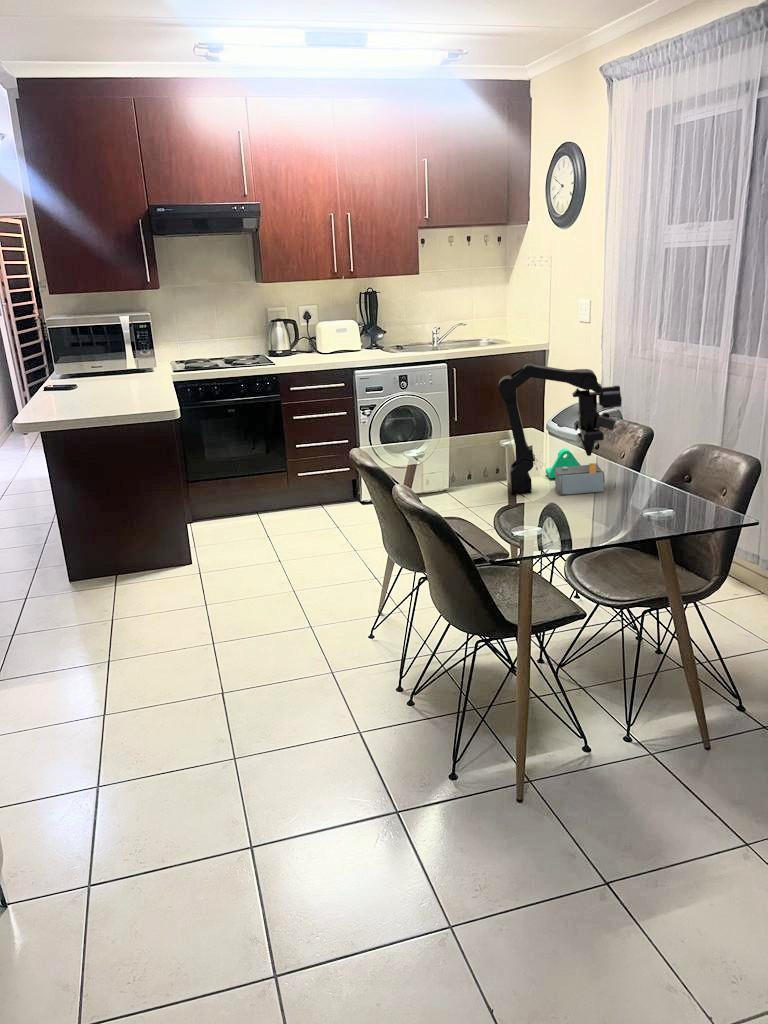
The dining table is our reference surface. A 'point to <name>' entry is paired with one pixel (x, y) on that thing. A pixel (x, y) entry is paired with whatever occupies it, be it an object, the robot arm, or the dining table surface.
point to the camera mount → (562, 462)
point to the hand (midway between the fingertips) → (589, 455)
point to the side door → (582, 482)
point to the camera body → (573, 472)
